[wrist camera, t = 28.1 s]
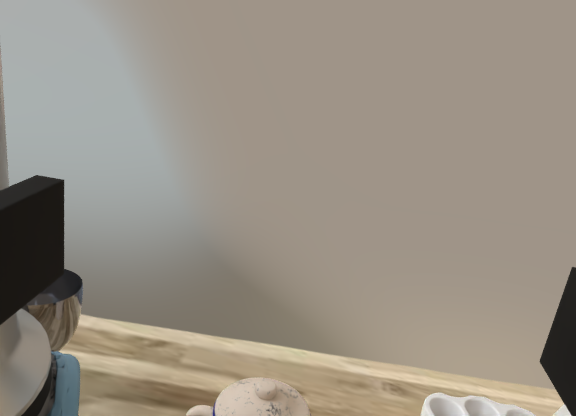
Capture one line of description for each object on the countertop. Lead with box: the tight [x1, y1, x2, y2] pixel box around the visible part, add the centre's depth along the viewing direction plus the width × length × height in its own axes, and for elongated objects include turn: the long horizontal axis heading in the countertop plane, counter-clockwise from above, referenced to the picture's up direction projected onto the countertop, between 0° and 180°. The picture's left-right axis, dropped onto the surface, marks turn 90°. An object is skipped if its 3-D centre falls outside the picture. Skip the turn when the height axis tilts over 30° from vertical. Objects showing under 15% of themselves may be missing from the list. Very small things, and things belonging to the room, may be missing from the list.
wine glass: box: [21, 269, 83, 352], centre depth 53 cm, size 8×8×15 cm
